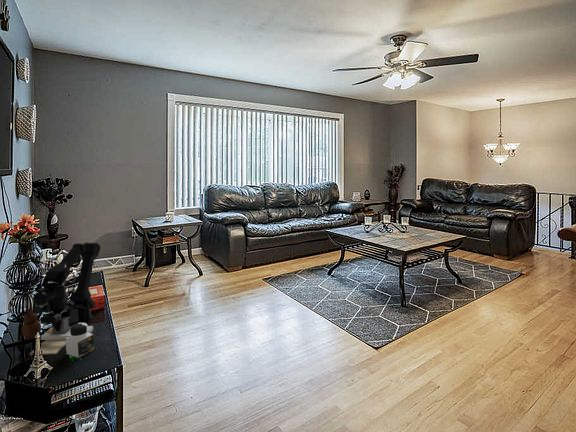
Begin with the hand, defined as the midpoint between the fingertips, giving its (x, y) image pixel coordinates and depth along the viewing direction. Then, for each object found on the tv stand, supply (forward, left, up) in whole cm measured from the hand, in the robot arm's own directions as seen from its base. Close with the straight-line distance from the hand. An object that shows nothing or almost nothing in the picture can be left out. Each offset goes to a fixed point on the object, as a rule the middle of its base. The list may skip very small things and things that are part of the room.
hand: (60, 329), depth 154 cm
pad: (+11, +1, -3) cm, 11 cm away
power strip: (0, +3, -3) cm, 4 cm away
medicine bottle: (+15, +15, -3) cm, 22 cm away
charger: (0, 0, -3) cm, 3 cm away
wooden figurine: (+1, -12, -3) cm, 12 cm away
